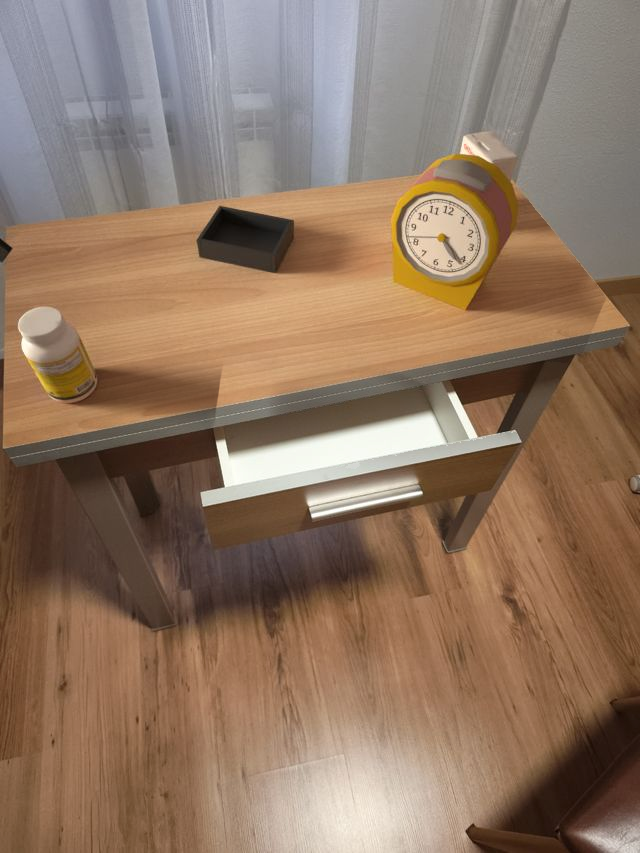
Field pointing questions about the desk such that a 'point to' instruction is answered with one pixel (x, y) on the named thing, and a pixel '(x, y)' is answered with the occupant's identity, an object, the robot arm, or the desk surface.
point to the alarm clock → (452, 228)
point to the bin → (246, 239)
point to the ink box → (490, 151)
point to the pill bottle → (57, 355)
